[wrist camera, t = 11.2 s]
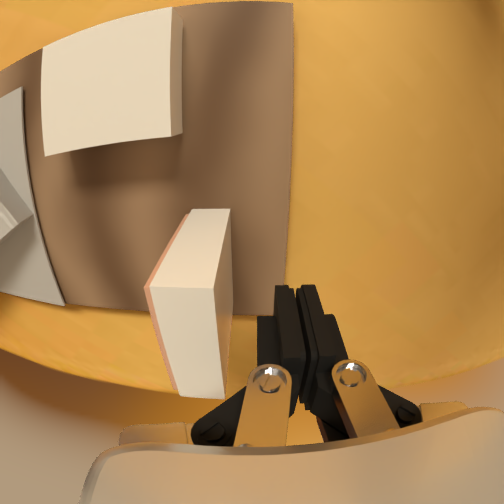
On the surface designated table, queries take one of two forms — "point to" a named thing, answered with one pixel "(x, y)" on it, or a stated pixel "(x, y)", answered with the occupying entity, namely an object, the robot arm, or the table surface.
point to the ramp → (20, 214)
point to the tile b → (195, 303)
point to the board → (177, 166)
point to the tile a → (113, 83)
